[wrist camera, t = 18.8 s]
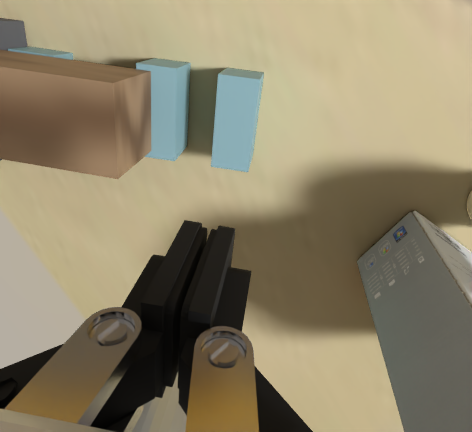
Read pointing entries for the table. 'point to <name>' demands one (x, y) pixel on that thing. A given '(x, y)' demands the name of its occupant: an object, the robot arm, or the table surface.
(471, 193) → the beer glass
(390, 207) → the table surface
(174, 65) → the block
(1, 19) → the block
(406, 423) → the hard drive box
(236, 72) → the block
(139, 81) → the slab
